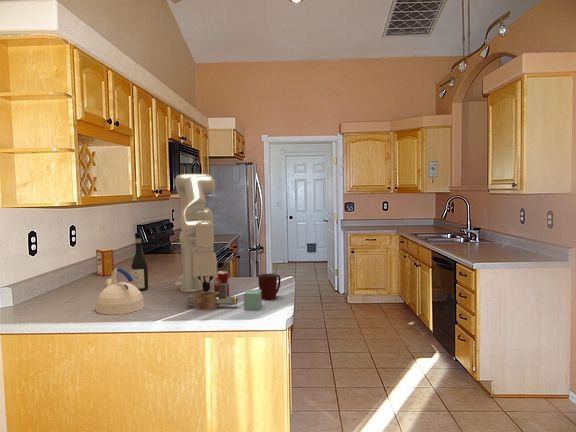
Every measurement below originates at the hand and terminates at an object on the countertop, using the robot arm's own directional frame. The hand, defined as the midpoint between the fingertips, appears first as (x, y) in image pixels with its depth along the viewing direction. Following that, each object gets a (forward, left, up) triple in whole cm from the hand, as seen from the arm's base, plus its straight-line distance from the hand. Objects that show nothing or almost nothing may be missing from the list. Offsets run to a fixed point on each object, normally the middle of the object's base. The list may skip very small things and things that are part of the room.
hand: (206, 291), depth 199 cm
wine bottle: (-45, +34, -8) cm, 57 cm away
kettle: (-39, -2, -8) cm, 39 cm away
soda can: (+2, +19, -8) cm, 21 cm away
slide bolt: (+2, 0, -6) cm, 6 cm away
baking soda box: (-84, +74, -8) cm, 112 cm away
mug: (+26, +17, -8) cm, 32 cm away
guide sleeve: (0, 0, -7) cm, 7 cm away
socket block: (+21, 0, -7) cm, 22 cm away
